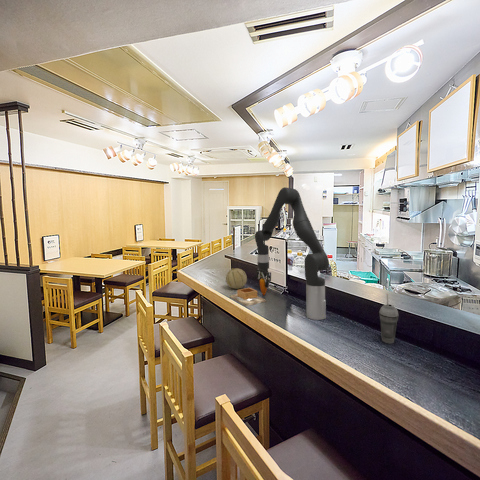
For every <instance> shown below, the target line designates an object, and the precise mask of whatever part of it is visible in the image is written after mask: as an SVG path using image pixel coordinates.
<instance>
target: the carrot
mask: <svg viewBox="0 0 480 480" xmlns="http://www.w3.org/2000/svg"><path fill="white" fill-rule="evenodd" d="M261 275H262V273H261ZM266 280H267V279H266ZM259 288H260V293H261V294H262V295H263V296H265V295H266V294H267V290H268V288H265V279H264V278H263V277H262V278H261V279H260V285H259Z"/></svg>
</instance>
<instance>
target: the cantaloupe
mask: <svg viewBox="0 0 480 480" xmlns="http://www.w3.org/2000/svg"><path fill="white" fill-rule="evenodd" d="M247 277H248V276H247V274H246V272H245V271H244V270H243V269H241V268H238V267H237V268H233V267H231V269H230V270H229V271H228V272H227V274H226V276H225V281H226V284H227V286H229V288H231V289H234V290H239V289H242V288H243V287H244V286H246V284H247V281H248V278H247Z"/></svg>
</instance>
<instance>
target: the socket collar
mask: <svg viewBox="0 0 480 480" xmlns="http://www.w3.org/2000/svg"><path fill="white" fill-rule="evenodd" d="M236 294H237V299H239V300H242V301H252V300H256V299H257V298H258V290H256V289H254V288H251V287H245V288H239V289H236Z"/></svg>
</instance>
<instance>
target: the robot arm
mask: <svg viewBox="0 0 480 480" xmlns="http://www.w3.org/2000/svg"><path fill="white" fill-rule="evenodd" d="M272 205H273V206H272V208H271V211H270V213H269V214H268V216H267V217H266V220H265V221H264V223H263V230H262V229H260V230H257V231H255V234H254V239H255V244H256V246H257V247H256V248H257V257H256V258H257V265H256V266H257V268H256V269H255V272H256V276H255V277H256V279H257V280H258V285H259V286H260V279H261V278H262V277H263V278H264V279H265V288H267V289H268V288H269V286H270V282H272V272H271V271H270V272H269V269H270V252H269V251H270V250H269V249H270V248H269V245H267V244H265V242H268V241H269V240H270V239H271V238H272V236H273V232H274V230H275V228H276V226H277V225H278V223H279V221H280V215H281V209H282V207H283V206H284V205H289V206H290V207H291V208H292V212H293V219H292V227H293V229H294V232H295V234H296V236H297V237H298V238H299V239H300V241H302V242H303V243H304V244H305V245H306V246H307V247H308V248H309V250H310V251H311V253H308V254H307V255H306V256H305V258H304V277H305V281H306V285H305V286H306V289H305V291H306V294H305V295H306V297H305V298H306V300H305V301H306V304H305V305H306V306H305V308H306V311H305V312H306V313H305V314H306V318H308V319H309V320H315V321H317V320H318V321H320V320H324V319H327V317H326V315H327V314H326V312H327V311H326V310H327V306H326V305H327V303H326V302H327V300H326V280H325V278H323V277H321V276H319V275H318V274H319V273H318V272H322V271H325V270H328V269H329V266H330V261H329V257H328V255H327V253H326V252H325V250H324V247H322V245H321V243H320V241H319V239H318V237H317V234H316V233H315V230H314V228H313V226H312V223H311V221H310V219H309V217H308V214H307V211H306V210H305V207H304V204H303V201H302V198H301V195H300V193H299V191H298V189H295V188H291V187H287V186H286V187H282V188H281V189H280V190H279V191H278V193H277V196H276V199H275V201H274V203H273V204H272ZM261 273H262V275H261ZM266 279H267V280H266Z"/></svg>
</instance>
